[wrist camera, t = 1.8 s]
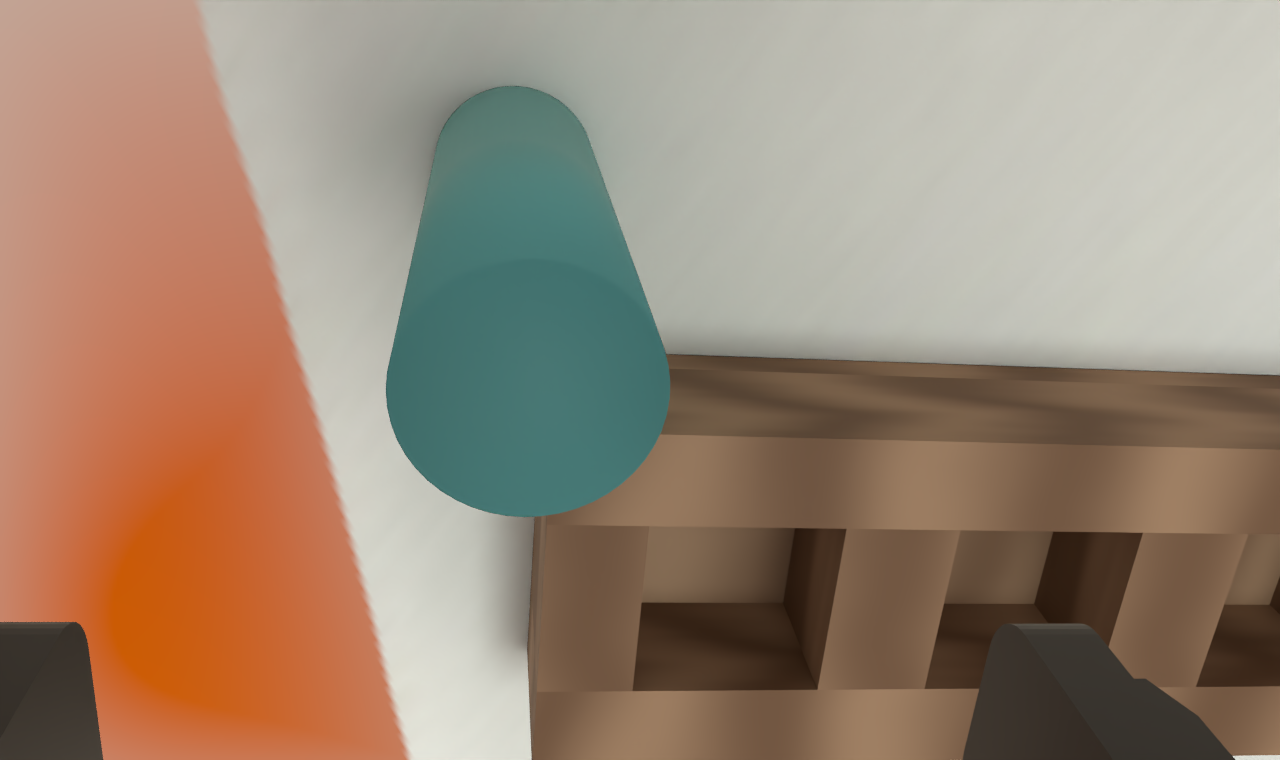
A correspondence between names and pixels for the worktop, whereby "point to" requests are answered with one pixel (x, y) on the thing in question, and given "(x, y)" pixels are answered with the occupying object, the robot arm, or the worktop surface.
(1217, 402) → the bore block
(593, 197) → the pin
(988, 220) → the worktop surface
